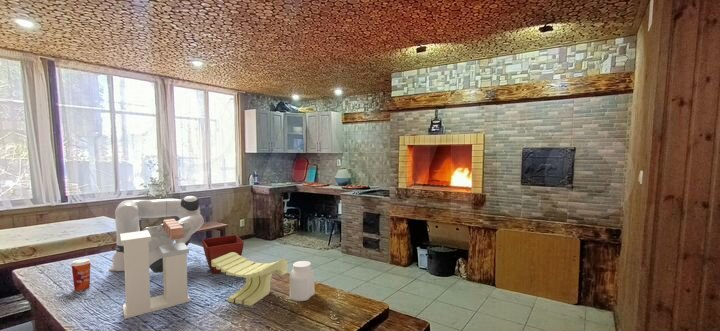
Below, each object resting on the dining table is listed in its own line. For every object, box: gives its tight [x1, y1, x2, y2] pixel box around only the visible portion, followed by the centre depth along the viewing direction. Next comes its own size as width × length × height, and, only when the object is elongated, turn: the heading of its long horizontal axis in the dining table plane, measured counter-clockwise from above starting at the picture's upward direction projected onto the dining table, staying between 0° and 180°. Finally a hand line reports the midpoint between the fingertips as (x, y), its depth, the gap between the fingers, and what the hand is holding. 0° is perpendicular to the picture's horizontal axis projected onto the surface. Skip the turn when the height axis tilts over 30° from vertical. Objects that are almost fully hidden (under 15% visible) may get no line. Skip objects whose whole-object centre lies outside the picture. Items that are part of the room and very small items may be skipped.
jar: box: [288, 260, 316, 302], centre depth 148 cm, size 12×10×15 cm
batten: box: [162, 218, 184, 240], centre depth 145 cm, size 24×4×4 cm, turn 39°
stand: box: [120, 230, 191, 320], centre depth 140 cm, size 14×24×32 cm, turn 129°
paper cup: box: [70, 258, 92, 292], centre depth 157 cm, size 8×8×14 cm
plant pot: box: [201, 234, 245, 276], centre depth 182 cm, size 19×19×17 cm
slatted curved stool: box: [211, 252, 288, 307], centre depth 147 cm, size 30×16×18 cm, turn 70°
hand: (169, 224), depth 152 cm, fingers closed on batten, 4 cm apart
